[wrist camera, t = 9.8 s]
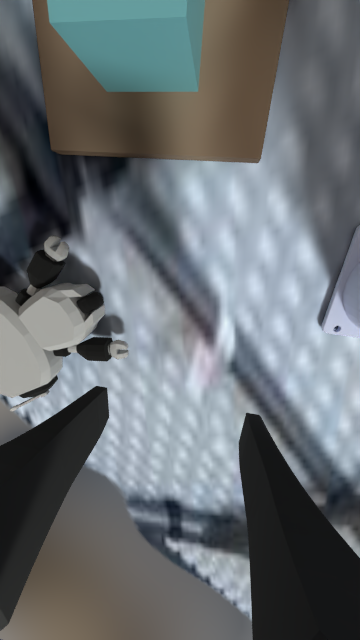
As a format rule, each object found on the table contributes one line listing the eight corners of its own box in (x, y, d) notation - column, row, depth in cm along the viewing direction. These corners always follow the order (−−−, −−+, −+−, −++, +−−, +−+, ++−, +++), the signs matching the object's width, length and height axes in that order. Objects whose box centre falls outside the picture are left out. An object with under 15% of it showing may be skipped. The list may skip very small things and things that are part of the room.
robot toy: (76, 225, 19) (-41, 295, 22) (40, 222, 15) (-97, 309, 18) (144, 344, 22) (34, 389, 26) (131, 369, 18) (1, 419, 22)
